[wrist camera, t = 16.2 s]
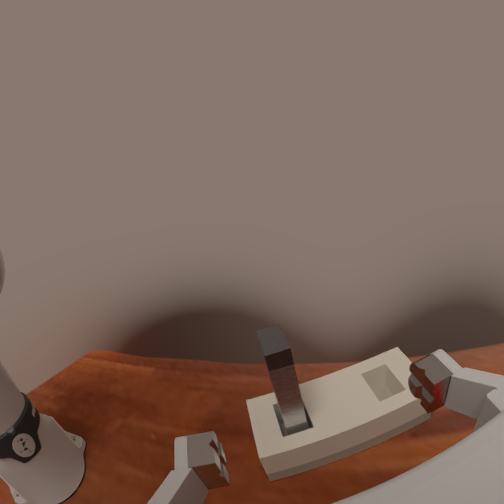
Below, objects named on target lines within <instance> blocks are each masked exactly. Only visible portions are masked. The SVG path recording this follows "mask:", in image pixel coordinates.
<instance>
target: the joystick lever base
mask: <svg viewBox="0 0 504 504" xmlns="http://www.w3.org/2000/svg"><path fill="white" fill-rule="evenodd" d="M411 363H412V362H411V361H410V360H409V359H408V358H407V357H406V356H405V355H404V354H403V353H402V352H401V351H400V349H399V348H398V347H396V348H394V349H392V350H389V351H387V352H385V353H382V354H380V355H378V356H375V357H373V358H370V359H368V360H365V361H363V362H360V363H358V364H355V365H353V366H350V367H347V368H345V369H342V370H339V371H337V372H334V373H331V374H328V375H326V376H323V377H320V378H317V379H314V380H311V381H308V382H305V383H302V384H299V388H300V393H301V397H302V402H303V406H304V411H305V415H306V420H307V424H308V429H307V430H304V431H301V432H298V433H295V434H291V435H287V432H286V429H285V426H284V423H283V420H282V417H281V413H280V410H279V407H278V403H277V400H276V397H275V393H274V392H273V393H270V394H267V395H263V396H260V397H256V398H252V399H249V400H246V402H247V407H248V411H249V416H250V420H251V425H252V429H253V434H254V438H255V443H256V447H257V451H258V455H259V459H260V461H261V463H262V466H263V468H264V470H265V472H266V474H267V476H268V478H269V480H270V482H271V481H274V480H278V479H282V478H285V477H289V476H292V475H296V474H299V473H302V472H305V471H309V470H312V469H315V468H318V467H321V466H324V465H327V464H329V463H332V462H335V461H338V460H340V459H343V458H346V457H348V456H351V455H353V454H356V453H358V452H361V451H363V450H365V449H368V448H370V447H373V446H375V445H377V444H379V443H382V442H384V441H386V440H388V439H390V438H392V437H395V436H397V435H399V434H401V433H403V432H405V431H407V430H409V429H411V428H413V427H415V426H417V425H419V424H420V423H422V422H424V421H426V420H428V419H430V415H431V413H429V414H428V413H427V412H426V411H425V409H424V408H423V407H422V406H421V405H420V399H418V398H415V397H414V396H413V395H412V393H411V391H410V389H409V385H408V378H409V377H410V375H411V372H410V371H409V369H410V365H411Z"/></svg>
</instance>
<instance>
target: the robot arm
mask: <svg viewBox="0 0 504 504" xmlns="http://www.w3.org/2000/svg"><path fill="white" fill-rule="evenodd" d="M4 277H5V268H4V261H3V256H2V253H1V250H0V293H1V291H2V288H3V284H4ZM409 371H410V372H411V375H410V377H409V378H408V385H409V389H410V391H411V393H412V395H413V396H414V397H415V398H418V399H420V405H421V406H422V407H423V408H424V409H425V411H426V412H427V413H428V414H429V413H431V412H432V411H434V410H436V409H438V408H440V407H442V406H445V407H447V408H450V409H452V410H455V411H457V412H459V413H462V414H464V415H467V416H469V417H472V418H474V419H477V423H476V425H475V427H474V432H473V433H471V434H470V435H468V436H467V437H465V438H464V439H462V440H461V441H459V442H458V443H456V444H455V445H453V446H451V447H450V448H448V449H446V450H445V451H443V452H441V453H440V454H438V455H436V456H435V457H433V458H431V459H429V460H428V461H426V462H424V463H422V464H420V465H418V466H416V467H415V468H413V469H411V470H409V471H407V472H405V473H403V474H401V475H399V476H397V477H395V478H392V479H390V480H388V481H386V482H384V483H382V484H379V485H377V486H375V487H373V488H370V489H368V490H366V491H363V492H361V493H358V494H356V495H353V496H351V497H348V498H345V499H343V500H340V501H337V502H334V503H332V504H504V376H502V375H497V374H493V373H488V372H484V371H479V370H475V369H470V368H466V367H465V368H464V369H463V368H462V367H461V366H460V365H459V364H457V363H456V362H455V361H454V360H453V359H452V358H451V357H450V356H449V355H448V354H447V353H446V352H444V351H443V350H442V349H439V350H437V351H435V352H433V353H431V354H429V355H427V356H425V357H423V358H421V359H419V360H417V361H415V362H413V363H411V365H410V369H409ZM85 446H86V442H85V440H84V439H83V438H82V437H80V436H77V435H74V434H72V433H69V432H67V431H64V430H63V428H62V427H61V426H60V425H59V424H58V423H57V421H56V420H55V419H54V418H53V417H52V416H48V415H46V414H42V413H39V412H38V411H37V409H36V408H35V407H34V404H33V403H32V402H31V400H30V399H28V397H27V396H26V395H25V394H24V393H22V392H20V391H19V389H18V388H17V386H16V385H15V383H14V382H13V380H12V379H11V377H10V376H9V374H8V373H7V371H6V369H5V368H4V366H3V365H2V363H1V361H0V477H1V478H2V479H3V480H4V481H5V482H6V483H7V484H8V486H9V488H10V491H11V493H12V496H13V498H14V500H15V502H16V503H17V504H58V503H60V502H62V501H64V500H65V499H67V498H68V497H69V496H71V495H72V494H73V492H74V491H75V490H76V489H77V487H78V486H79V484H80V482H81V480H82V478H83V474H84V468H85V464H84V457H83V453H84V449H85ZM225 465H226V458H225V454H224V450H223V448H222V445H221V444H220V442H218V441H217V436H216V434H215V433H214V431H210V432H205V433H199V434H193V435H188V436H182V437H176V438H175V441H174V467H175V470H173V471H171V472H170V473H169V474H168V476H167V477H166V479H165V480H164V481H163V483H162V484H161V485H160V487H159V488H158V490H157V491H156V492H155V494H154V495H153V496H152V498H151V499H150V500H149V502H148V503H147V504H203V502H204V500H205V498H206V496H207V494H208V492H209V489H214V488H219V487H224V486H229V485H230V483H229V476H228V471H227V470H226V468H225Z"/></svg>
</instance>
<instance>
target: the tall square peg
mask: <svg viewBox="0 0 504 504" xmlns="http://www.w3.org/2000/svg"><path fill="white" fill-rule="evenodd" d="M257 336H258V339H259V342H260V346H261V349H262V352H263V356H264V359H265V363H266V366H267V370H268V373H269V376H270V380H271V383H272V387H273V390H274V393H275V397H276V400H277V403H278V407H279V410H280V413H281V417H282V420H283V423H284V426H285V429H286V432H287V435H291V434H295V433H298V432H301V431H304V430H307V429H308V424H307V420H306V415H305V411H304V406H303V402H302V397H301V393H300V388H299V384H298V380H297V375H296V371H295V366H294V362H293V358H292V353H291V349H290V346H289V344H288V342H287V340H286V338H285V335H284V333H283V331H282V329H281V327H280V325H275V326H272V327H269V328H265V329H262V330H259V331H257Z"/></svg>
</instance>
